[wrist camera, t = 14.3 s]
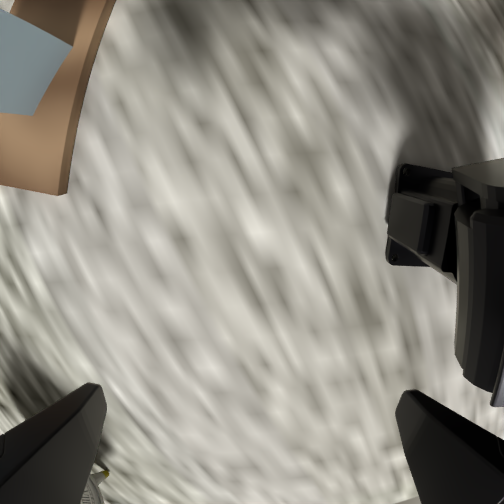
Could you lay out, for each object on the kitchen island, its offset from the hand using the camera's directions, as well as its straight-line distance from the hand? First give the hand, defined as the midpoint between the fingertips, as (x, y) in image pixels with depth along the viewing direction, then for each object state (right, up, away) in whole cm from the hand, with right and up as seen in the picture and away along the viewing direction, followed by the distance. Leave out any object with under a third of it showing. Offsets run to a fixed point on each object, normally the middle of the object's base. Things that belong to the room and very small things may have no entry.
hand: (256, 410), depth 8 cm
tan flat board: (-15, +17, +7) cm, 23 cm away
